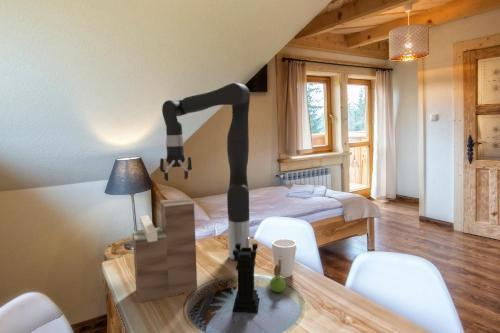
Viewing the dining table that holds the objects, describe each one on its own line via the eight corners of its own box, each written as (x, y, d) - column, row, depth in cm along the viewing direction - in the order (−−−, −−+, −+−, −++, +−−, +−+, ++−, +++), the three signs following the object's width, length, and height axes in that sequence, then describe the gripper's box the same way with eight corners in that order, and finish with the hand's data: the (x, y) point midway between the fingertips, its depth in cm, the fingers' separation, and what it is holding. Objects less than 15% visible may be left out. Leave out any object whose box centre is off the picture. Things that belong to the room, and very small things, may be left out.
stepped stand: (136, 289, 126) (130, 203, 122) (190, 279, 134) (187, 197, 130) (139, 302, 117) (133, 210, 113) (197, 290, 125) (194, 203, 121)
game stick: (140, 223, 132) (139, 215, 132) (148, 222, 133) (147, 215, 133) (147, 242, 112) (147, 233, 112) (157, 240, 113) (157, 231, 113)
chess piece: (259, 300, 118) (258, 243, 115) (257, 313, 110) (257, 252, 107) (236, 299, 119) (234, 242, 116) (232, 312, 111) (231, 251, 108)
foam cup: (269, 278, 134) (269, 245, 132) (275, 268, 143) (275, 237, 141) (293, 281, 131) (293, 248, 129) (298, 271, 139) (299, 240, 138)
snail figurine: (287, 287, 126) (287, 256, 125) (283, 296, 120) (283, 263, 119) (273, 285, 128) (273, 254, 126) (268, 293, 122) (268, 261, 120)
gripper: (160, 146, 153) (162, 182, 155) (192, 144, 159) (193, 180, 161) (157, 145, 160) (159, 180, 162) (188, 143, 165) (189, 177, 168)
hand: (176, 180), depth 161 cm, fingers open, 8 cm apart
